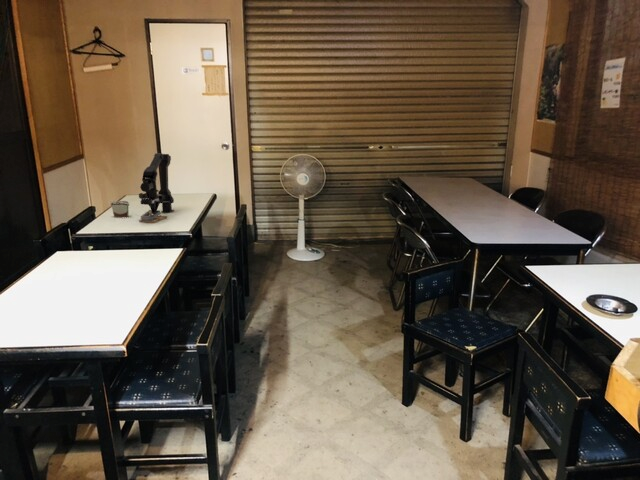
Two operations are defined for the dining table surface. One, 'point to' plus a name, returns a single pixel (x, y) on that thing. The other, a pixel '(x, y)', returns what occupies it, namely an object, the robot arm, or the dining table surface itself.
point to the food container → (120, 209)
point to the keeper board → (153, 219)
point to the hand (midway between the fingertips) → (154, 212)
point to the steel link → (147, 217)
